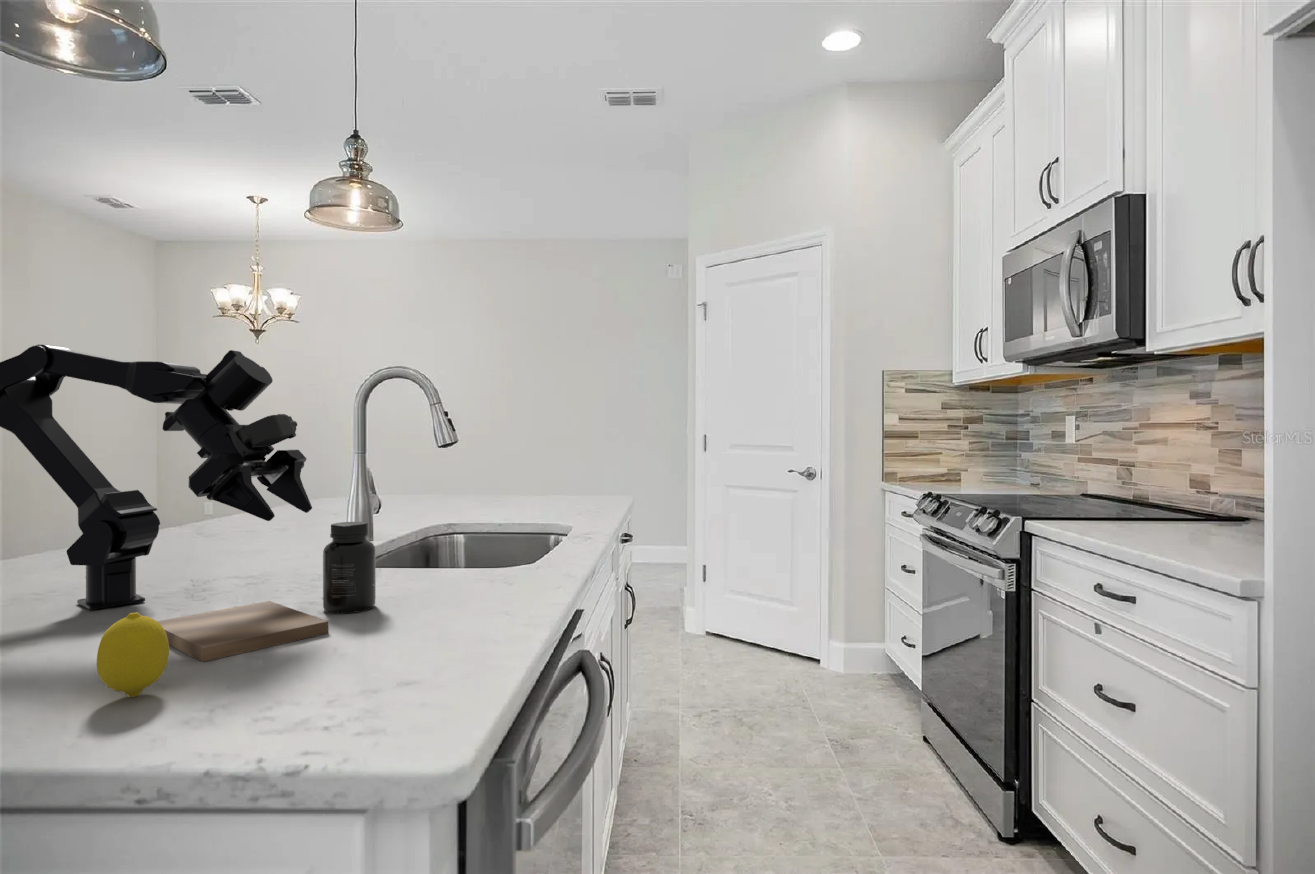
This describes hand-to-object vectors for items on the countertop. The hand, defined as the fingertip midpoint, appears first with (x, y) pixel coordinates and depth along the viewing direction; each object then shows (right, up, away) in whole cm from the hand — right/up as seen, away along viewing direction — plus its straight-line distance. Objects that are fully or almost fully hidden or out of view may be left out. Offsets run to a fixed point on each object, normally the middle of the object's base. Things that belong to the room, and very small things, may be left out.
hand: (291, 514), depth 101 cm
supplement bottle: (+8, -13, 0) cm, 16 cm away
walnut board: (0, -13, -13) cm, 18 cm away
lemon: (+2, -14, -33) cm, 36 cm away
